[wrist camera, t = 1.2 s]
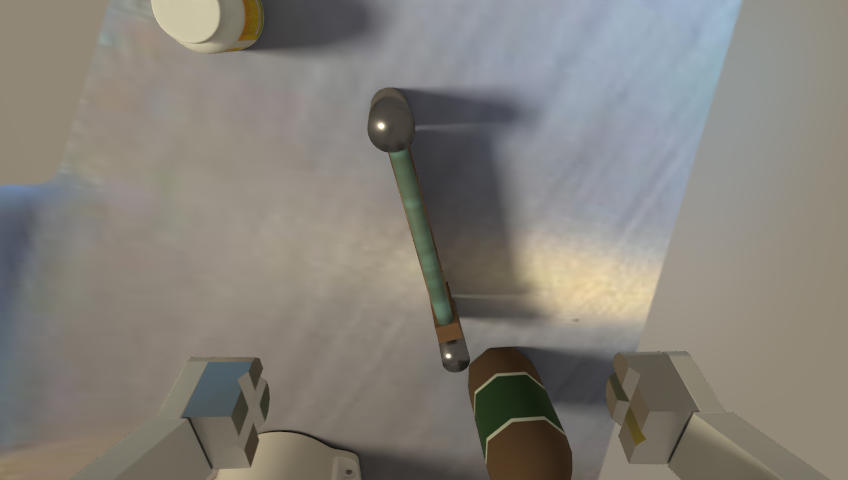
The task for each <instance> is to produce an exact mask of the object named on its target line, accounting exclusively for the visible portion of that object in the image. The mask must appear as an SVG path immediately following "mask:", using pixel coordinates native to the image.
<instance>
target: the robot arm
mask: <svg viewBox="0 0 848 480" xmlns="http://www.w3.org/2000/svg"><path fill="white" fill-rule="evenodd" d="M613 367H614V369H615V371H616V372H614V373H613V374H612V375H611V376H609V377H608V381H607V385H606V401H607V405H608V409H609V412H610V415H611V418H612V419H613V420H614V421H615V422H617V423H618V424H619V425H620V426H621V430H620V433H619V439H620V441H621V444H622V447H623V449H624V452H625V454H626V457H627V460H628V462H629V464H669V465H668V467H669V468H670V469H671V470H672V471H673V472H674V473H675V474H676V475H677V476H678V477H679V478H680V479H681V480H830V479H829V478H827V477H825V476H824V475H823V474H821V473H820V472H819V471H817V470H816V469H814V468H813V467H811V466H810V465H808V464H807V463H806V462H804V461H803V460H801V459H800V458H798V457H797V456H796V455H794V454H793V453H791V452H790V451H788V450H787V449H786V448H784V447H783V446H781V445H780V444H778V443H777V442H775V441H774V440H772V439H771V438H769V437H768V436H767V435H765V434H764V433H762V432H761V431H760V430H758V429H757V428H755V427H754V426H752V425H751V424H750V423H748V422H747V421H745V420H743V419H742V418H741V417H739V416H738V415H737V414H735V413H734V412H726V411H725V409H724V408H723V406H722V405H721V403H720V401H719V400H718V398H717V397H716V395H715V393H714V392H713V390H712V389H711V387H710V385H709V384H708V382H707V380H706V379H705V377H704V376H703V374H702V373H701V371H700V369H699V368H698V366H697V364H696V363H695V361H694V360H693V358H692V356H691V355H690V354H689V353H688V352H686V351H671V352H660V351H658V352H618V353H617V354H616V356H615V357H614V360H613ZM262 370H263V367H262V364H261V361H260V358H250V357H191V358H190V359H189V360H188V361H186V363H185V364H184V366H183V368H182V370H181V371H180V373H179V375H178V377H177V379H176V381H175V383H174V385H173V386H172V388H171V390H170V392H169V394H168V396H167V398H166V400H165V401H164V403H163V405H162V407H161V409H160V411H159V413H158V415H157V416H156V418H155V419H148V420H146V421H145V422H144V423H143V424H141V425H140V426H139V427H137V428H136V429H135V430H133V431H132V432H131V433H129V434H128V435H127V436H125V437H124V438H123V439H122V440H120V441H119V442H118V443H116V444H115V445H114V446H112V447H111V448H110V449H108V450H107V451H106V452H104V453H103V454H102V455H101V456H99V457H98V458H97V459H95V460H94V461H93V462H91V463H90V464H89V465H87V466H86V467H85V468H83V469H82V470H81V471H80V472H78V473H77V474H76V475H74V476H73V477H72V478H70V479H69V480H205V479H206V478H207V477H208V476H209V475H210V474H211V473H212V469H219V471H218V475H217V477H216V479H215V480H362V478H361V471H360V465H359V459H358V456H357V455H356V454H354V453H352V452H348V451H344V450H338V449H333V448H330V447H328V446H326V445H324V444H323V443H321V442H319V441H317V440H315V439H313V438H310V437H307V436H304V435H301V434H296V433H289V432H270V433H263V434H259V435H257V432H256V430H257V429H258V428H260V427H261V426H262V425H263V424H264V423H265V420H266V417H267V414H268V409H269V400H270V396H269V387H268V384H267V381H266V380H264V379H263V378H262V377H260V375H261V373H262Z"/></svg>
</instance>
